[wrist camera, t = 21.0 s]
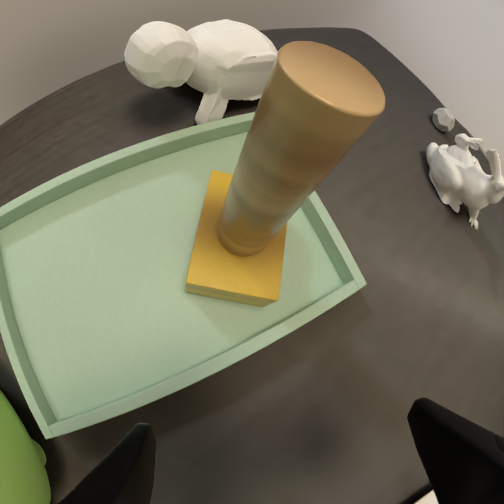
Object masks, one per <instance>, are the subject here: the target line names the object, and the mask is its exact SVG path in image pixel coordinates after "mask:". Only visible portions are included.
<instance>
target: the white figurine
mask: <svg viewBox="0 0 504 504" xmlns="http://www.w3.org/2000/svg"><path fill="white" fill-rule="evenodd" d="M455 142H456V144H457V145H453V146H450V147H449V146H448V145H445V144H444V145H441V146H438V145H437V144H436V143H431V144H429V146H428V148H427V152H426V156H427V162H428V165H429V168H430V172H429V177H430V180H431V181H432V183H433V185H434V187H435V189H436V191H437V193H438V195H439V197H440V199H441V201H442V202H443V203H444V204H449V205H450V206H451V208H452V209H453V210H454V211H455V212H457V213H458V212H459V210H460V205H461V204H462V203H464V204H465V205H466V206H468V207H469V216H470V219H469V222H468V223H470V222H471V227H472V226H473V225H474V227H475V229H477V227H478V225H477V224H478V221H477V220H476V218H477V216H478V213H479V210H480V209H482V208H484V207H486V206H487V205H488V204H489V203H493V204H494V203H497V202H499V201H500V200H501V199H502V197H503V196H504V177H503V176H502V175H501V164H500V158H499V155H498V151H497V150H495V149H490V150H488V151H487V152H486V154H487V157H488V160H489V164H490V168H491V172H492V175H487V174H485V173H484V172H483V170H482V169H481V167H480V164H479V162H478V160H477V159H476V158H475V157H474V156H472V155H471V153H470V151H469V150H468V147H469V146H470V147H471V148H472V149H474V150H478V148H479V147H478V146H477V145H476V144H475V143H478V144H483V140H482V139H481V138H469V137H468V136H467V135H466V134H458V135H456V137H455Z"/></svg>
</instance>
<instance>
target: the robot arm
mask: <svg viewBox="0 0 504 504" xmlns="http://www.w3.org/2000/svg"><path fill="white" fill-rule="evenodd" d="M407 419H408V423H409V426H410V429H411V432H412V435H413V439H414V442H415V445H416V448H417V451H418V454H419V456H420V459H421V461H422V463H423V466H424V468H425V471H426V473H427V476H428V478H429V481H430V483H431V486H432V488H433V491H434V493H435V496H436V498H437V501H438V504H504V438H503V437H501V436H499V435H497V434H494V433H493V432H491V431H489V430H487V429H485V428H483V427H481V426H479V425H477V424H475V423H473V422H471V421H469V420H467V419H465V418H463V417H461V416H460V415H458V414H456V413H454V412H452V411H450V410H448V409H446V408H444V407H442V406H441V405H439V404H437V403H435V402H433V401H431V400H429V399H428V398H420V399H417V400H415V402H414V403H413V405H412V407H411V409H410V411H409V413H408V417H407ZM155 450H156V439H155V436H154V433H153V430H152V427H151V425H150V424H146V423H137V424H136V425H135V426H134V427H133V428H132V429H131V430H130V431H129V432H128V433H127V434H126V435H125V436H124V438H123V439H122V440H121V441H120V442H119V443H118V444H117V445H116V446H115V447H114V448H113V449H112V450H111V451H110V452H109V453H108V454H107V455H106V457H105V458H104V459H103V460H102V461H101V462H100V463H99V464H98V465H97V466H96V467H95V468H94V469H93V470H92V471H91V472H90V473H89V474H88V475H87V476H86V477H85V478H84V479H83V480H82V481H81V482H80V483H79V484H78V485H77V486H76V487H75V490H74V489H73V490H72V491H71V492H70V493H69V494H68V495H67V496H66V497H65V498H64V499H63V500H62V501H61V502H59V503H58V504H150V500H151V494H152V489H153V482H154V466H155Z"/></svg>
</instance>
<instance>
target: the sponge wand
mask: <svg viewBox="0 0 504 504" xmlns="http://www.w3.org/2000/svg"><path fill="white" fill-rule="evenodd" d="M384 107H385V95H384V92H383V90H382V88H381V86H380V84H379V83H378V81H377V80H376V79H375V77H374V76H373V75H372V74H371V73H370V72H369V71H368V70H367V69H366V68H365V67H364V66H362V65H361V64H360V63H359V62H357V61H356V60H354V59H353V58H351V57H350V56H348V55H346V54H345V53H343V52H341V51H339V50H337V49H334V48H332V47H329V46H327V45H323V44H320V43H316V42H310V41H295V42H290V43H288V44H286V45H284V46H283V47H282V48H281V49H280V50H279V51H278V54H277V56H276V59H275V61H274V64H273V66H272V69H271V72H270V74H269V77H268V79H267V82H266V85H265V87H264V90H263V92H262V95H261V98H260V100H259V103H258V106H257V109H256V111H255V114H254V117H253V119H252V122H251V125H250V128H249V130H248V133H247V136H246V139H245V142H244V145H243V147H242V150H241V153H240V156H239V159H238V162H237V165H236V168H235V171H234V174H228V173H224V172H220V171H215V170H212V172H211V176H210V179H209V183H208V187H207V191H206V195H205V199H204V203H203V207H202V211H201V215H200V219H199V224H198V228H197V232H196V236H195V241H194V245H193V250H192V254H191V259H190V264H189V268H188V273H187V278H186V285H185V292H187V293H191V294H196V295H201V296H206V297H211V298H216V299H221V300H226V301H232V302H237V303H242V304H248V305H253V306H259V307H265V306H267V305H269V304H272V303H274V302H276V301H278V300H279V292H280V283H281V275H282V266H283V258H284V249H285V240H286V230H287V222H288V220H289V219H290V218H291V217H292V216H293V215H294V214H295V212H296V211H297V210H298V209H299V208H300V207H301V205H302V204H303V203H304V202H305V201H306V200H307V199H308V197H309V196H310V195H311V194H312V193H313V192H314V191H315V189H316V188H317V187H318V186H319V185H320V184H321V182H322V181H323V180H324V179H325V178H326V177H327V176H328V174H329V173H330V172H331V171H332V170H333V169H334V167H335V166H336V165H337V164H338V163H339V162H340V161H341V159H342V158H343V157H344V156H345V155H346V154H347V152H348V151H349V150H350V149H351V148H352V147H353V146H354V144H355V143H356V142H357V141H358V140H359V139H360V137H361V136H362V135H363V134H364V133H365V132H366V130H367V129H368V128H369V127H370V126H371V125H372V123H373V122H374V121H375V120H376V119H377V118H378V116H379V115H380V114H381V113H382V112H383V110H384Z"/></svg>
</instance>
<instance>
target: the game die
mask: <svg viewBox="0 0 504 504" xmlns="http://www.w3.org/2000/svg"><path fill="white" fill-rule="evenodd" d="M432 121H433V123H434V125H435V127H436V128H438V129H439V130H441V131H450V130H451V129H452V128H453V127H454V123H455V118H454V117H453V115H452V113H451V112H450V111H449V110H447V109H446V108H438V109H437V110H436V111H434V112H433V118H432Z"/></svg>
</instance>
